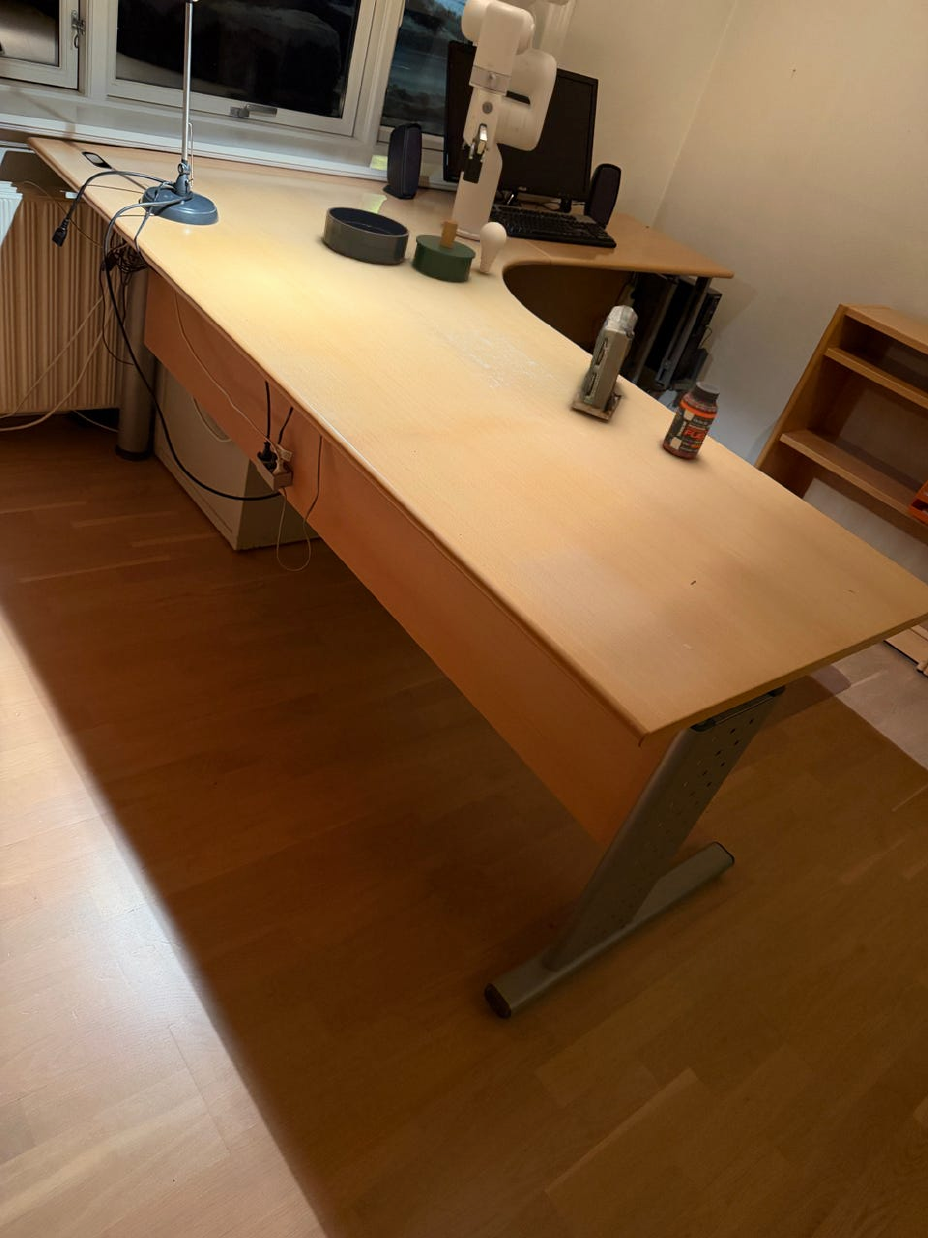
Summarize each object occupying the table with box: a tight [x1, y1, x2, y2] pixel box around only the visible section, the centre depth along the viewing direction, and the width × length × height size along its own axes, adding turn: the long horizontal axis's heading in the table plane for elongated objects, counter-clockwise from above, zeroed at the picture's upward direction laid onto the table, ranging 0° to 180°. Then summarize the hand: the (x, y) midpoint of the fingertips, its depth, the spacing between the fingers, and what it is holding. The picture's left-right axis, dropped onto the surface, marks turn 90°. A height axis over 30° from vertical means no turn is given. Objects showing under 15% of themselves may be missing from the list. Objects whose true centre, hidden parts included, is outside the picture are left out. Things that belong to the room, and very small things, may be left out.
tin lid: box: [415, 218, 477, 260], centre depth 179 cm, size 13×13×6 cm
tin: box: [412, 242, 473, 283], centre depth 182 cm, size 12×13×5 cm
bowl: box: [322, 206, 411, 265], centre depth 180 cm, size 18×18×6 cm
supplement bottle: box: [662, 381, 721, 459], centre depth 134 cm, size 6×6×11 cm
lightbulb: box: [479, 221, 508, 274], centre depth 189 cm, size 6×6×11 cm
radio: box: [571, 304, 639, 421], centre depth 144 cm, size 23×9×15 cm, turn 158°
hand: (467, 176), depth 172 cm, fingers open, 9 cm apart
